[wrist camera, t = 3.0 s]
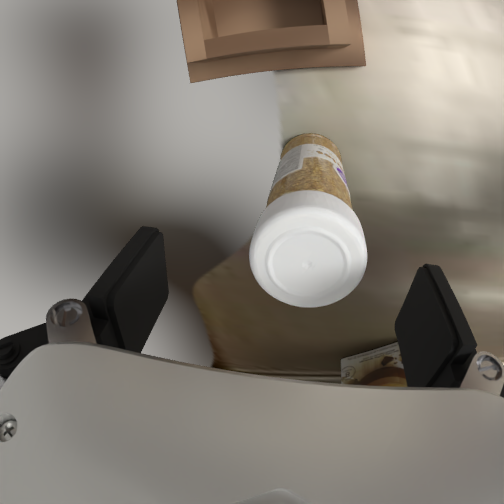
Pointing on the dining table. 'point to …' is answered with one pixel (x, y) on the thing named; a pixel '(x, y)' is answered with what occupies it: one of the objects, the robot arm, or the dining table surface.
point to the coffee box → (375, 368)
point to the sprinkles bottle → (308, 228)
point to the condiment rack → (268, 35)
